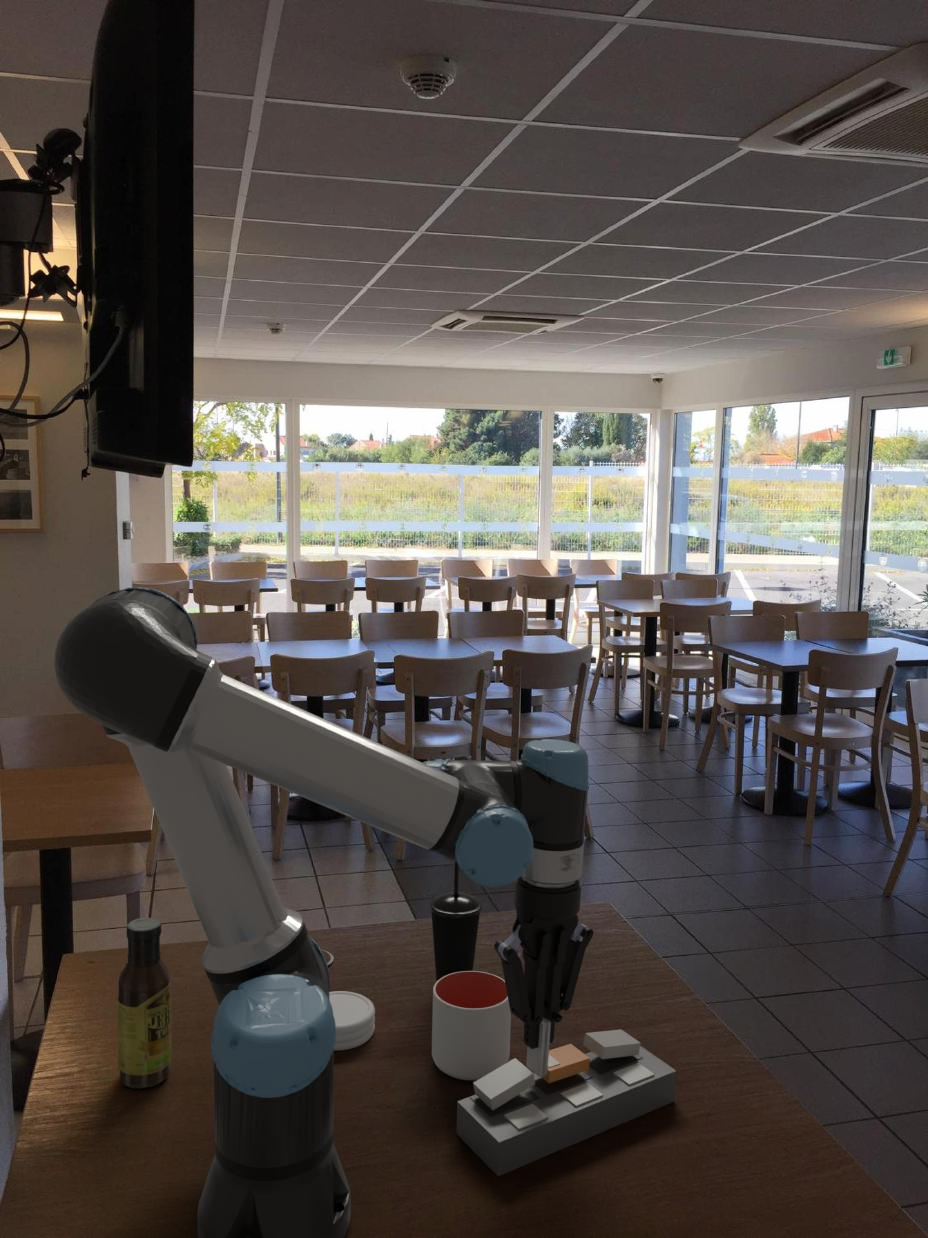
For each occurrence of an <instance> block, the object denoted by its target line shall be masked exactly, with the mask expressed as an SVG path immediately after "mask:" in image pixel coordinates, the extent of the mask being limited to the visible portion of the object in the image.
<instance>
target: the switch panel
mask: <svg viewBox="0 0 928 1238" xmlns="http://www.w3.org/2000/svg"><path fill="white" fill-rule="evenodd" d="M584 1054H585V1055H586V1056H588V1057H589V1058H590V1062H589V1070H587V1071H584V1072H581V1073H578V1074H575V1075H572V1076H569V1077H566V1078H563V1079H560V1080H557V1081H554V1082H551V1083H548V1082H547V1081H545V1080H544V1079H543V1078H542V1077H539V1076H538V1075H537V1074H535V1073H534V1072H532V1073H533V1074H534V1080H535V1085H533V1086H532V1087H530V1088H529V1089H527V1090H525V1091H524V1092H522V1093H520V1094H519V1095H517V1096H516V1097H514V1098H512V1099H511V1100H509V1101H507V1102H506V1103H504V1104H503V1105H501V1106H499V1107H498V1108H496V1109H494V1110H491V1109H490V1108H489V1107H488V1106H487V1105H486V1104H485V1103H484V1102H483V1101H482V1100H481V1099H480V1098H479V1097H478V1096H477V1095H476V1094H474V1095H471V1096H469V1097H465V1098H463V1099H459V1100H458V1101H457V1102H456V1104H457V1105H456V1135H458V1137H459V1138H460V1139H461V1140H462V1141H463V1143H465V1144H466V1145H467V1146H468V1147H469V1148H470V1149H471V1150H472V1151H473V1152H474V1153H475V1155H477V1156H478V1157H479V1158H480V1159H481V1160H482V1162H483V1163H484V1164H485V1165H486V1166H487V1167H488V1168H489V1169H490V1170H491V1171H492V1172H493V1173H494V1174H495V1175H496V1176H497V1177H500V1176H502V1175H505V1174H507V1173H510V1172H512V1171H515V1170H517V1169H519V1168H521V1167H523V1166H526V1165H528V1164H531V1163H533V1162H536V1161H537V1160H541V1159H542V1158H545V1157H548V1156H549V1155H552V1154H555V1153H557V1152H559V1151H561V1150H564V1149H566V1148H569V1147H571V1146H574V1145H575V1144H578V1143H580V1142H582V1141H585V1140H587V1139H590V1138H592V1137H594V1136H596V1135H599V1134H602V1133H603V1132H605V1131H608V1130H611V1129H613V1128H615V1127H617V1126H618V1127H619V1126H620V1125H622V1124H625V1123H627V1122H629V1121H632V1120H634V1119H636V1118H638V1117H641V1116H644V1115H646V1114H648V1113H650V1112H651V1113H652V1112H653V1111H655V1110H657V1109H660V1108H662V1107H665V1106H667V1105H669V1104H672V1103H674V1102H675V1099H676V1098H675V1097H676V1082H677V1081H676V1080H677V1070H675V1069H674V1068H673V1067H672V1066H670V1065H669V1064H667V1063H666V1062H664V1061H663V1060H662V1059H660V1058H659V1057H657V1056H656V1055H654V1054H653V1053H651V1052H650V1051H649V1050H647V1049H646V1048H645V1047H644V1046H641V1045H640V1049H639V1054H638V1055H633V1056H625V1057H616V1058H608V1059H601V1058H600V1057H599V1056H597V1055H596V1054H595V1053H593V1052H592V1051H589V1052H588V1053H584Z"/></svg>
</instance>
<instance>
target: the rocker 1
mask: <svg viewBox="0 0 928 1238" xmlns="http://www.w3.org/2000/svg"><path fill="white" fill-rule="evenodd" d="M533 1073H534V1072H533V1071H532V1070H531V1069H529V1068H528V1067H527V1066H525V1065H524V1064H523V1063H522V1062H521V1061H519V1060H518V1059H517V1058H513V1059H510V1060H508V1062H507V1063H506V1064H504V1065H502V1066H501V1067H499V1068H497V1069H496V1070H494V1071H492V1072H491V1073H489V1074H487V1075H486V1076H484V1077H482V1078H480V1079H479V1080H474V1081H473V1082H472V1084H473V1085H472V1086H473V1091H474V1095H477V1096H478V1097H479V1098H480V1099H481V1100H482V1101H483V1102H484V1103H485V1104H486V1105H487V1106H488V1107H489V1108H490V1109H491V1110H494V1109H496V1108H498V1107H499V1106H501V1105H503V1104H504V1103H506V1102H507V1101H509V1100H511V1099H512V1098H514V1097H516V1096H517V1095H519V1094H520V1093H522V1092H524V1091H525V1090H527V1089H529V1088H530V1087H532V1086H533V1085H535V1080H534V1074H533Z"/></svg>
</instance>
